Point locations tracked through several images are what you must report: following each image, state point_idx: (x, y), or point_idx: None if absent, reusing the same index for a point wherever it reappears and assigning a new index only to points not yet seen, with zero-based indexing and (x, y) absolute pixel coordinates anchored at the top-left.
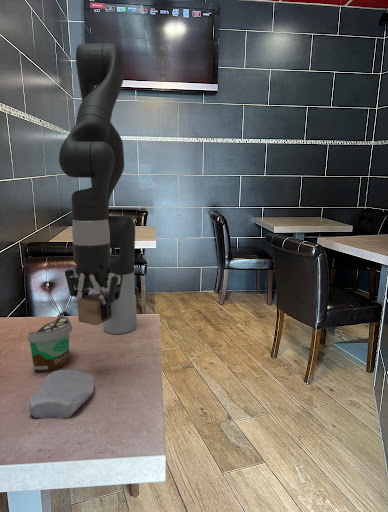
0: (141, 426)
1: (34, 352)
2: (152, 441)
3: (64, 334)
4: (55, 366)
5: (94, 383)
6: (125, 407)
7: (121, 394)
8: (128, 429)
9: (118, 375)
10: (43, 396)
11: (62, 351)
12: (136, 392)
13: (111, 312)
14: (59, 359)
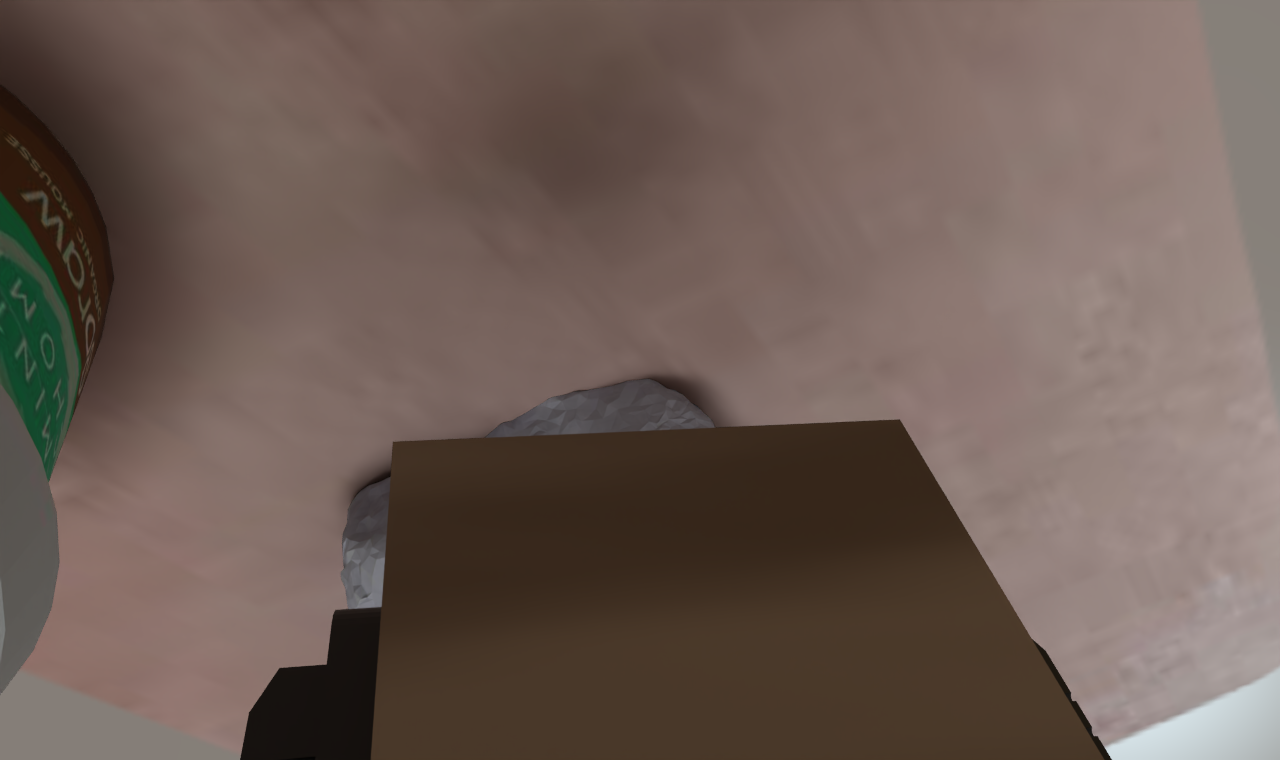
0: (1194, 556)
1: None
2: (1275, 610)
3: (39, 499)
4: (96, 344)
5: (713, 425)
6: (1041, 469)
7: (952, 366)
8: (1127, 600)
9: (786, 131)
10: None
11: (66, 348)
12: (1060, 296)
13: (941, 497)
14: (88, 339)
